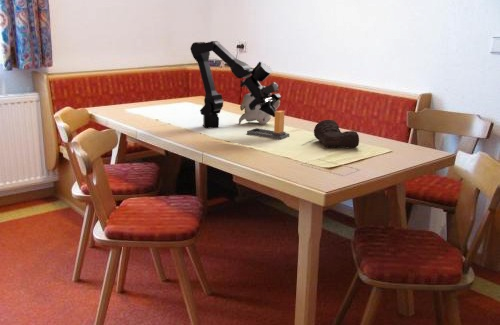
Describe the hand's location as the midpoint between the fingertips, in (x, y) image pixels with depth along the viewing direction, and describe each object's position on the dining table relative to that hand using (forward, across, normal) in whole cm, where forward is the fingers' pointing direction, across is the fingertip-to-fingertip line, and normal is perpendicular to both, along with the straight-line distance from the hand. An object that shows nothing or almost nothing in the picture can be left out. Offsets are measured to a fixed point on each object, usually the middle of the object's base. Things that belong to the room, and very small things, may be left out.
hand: (276, 117), depth 206 cm
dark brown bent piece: (+25, +6, -11) cm, 28 cm away
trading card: (+33, -25, -19) cm, 45 cm away
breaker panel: (+4, 0, +9) cm, 10 cm away
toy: (-7, +18, +21) cm, 29 cm away
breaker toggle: (+7, 0, +5) cm, 9 cm away
